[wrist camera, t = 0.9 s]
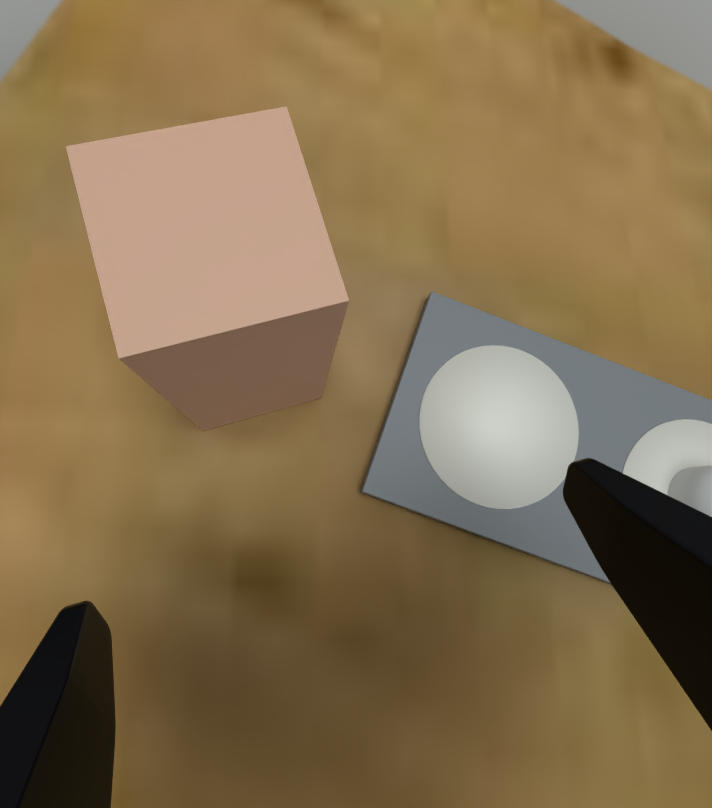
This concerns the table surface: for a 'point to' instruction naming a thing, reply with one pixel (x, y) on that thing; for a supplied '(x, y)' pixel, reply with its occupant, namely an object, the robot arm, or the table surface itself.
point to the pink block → (214, 263)
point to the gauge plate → (527, 432)
